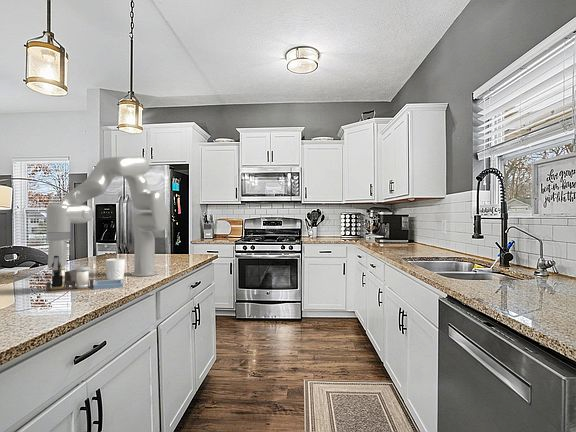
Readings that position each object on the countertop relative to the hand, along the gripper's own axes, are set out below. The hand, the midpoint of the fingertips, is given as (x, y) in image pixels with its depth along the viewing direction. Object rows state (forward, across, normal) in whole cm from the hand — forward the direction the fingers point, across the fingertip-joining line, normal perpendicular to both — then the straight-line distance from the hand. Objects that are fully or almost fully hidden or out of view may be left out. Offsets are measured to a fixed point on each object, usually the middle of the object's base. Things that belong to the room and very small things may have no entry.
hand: (58, 284), depth 129 cm
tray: (+3, 0, +17) cm, 17 cm away
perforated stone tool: (+4, -16, +4) cm, 17 cm away
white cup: (+4, -19, +19) cm, 27 cm away
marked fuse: (+1, 0, 0) cm, 1 cm away
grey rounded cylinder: (+2, 0, +8) cm, 8 cm away
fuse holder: (+3, 0, +4) cm, 5 cm away
